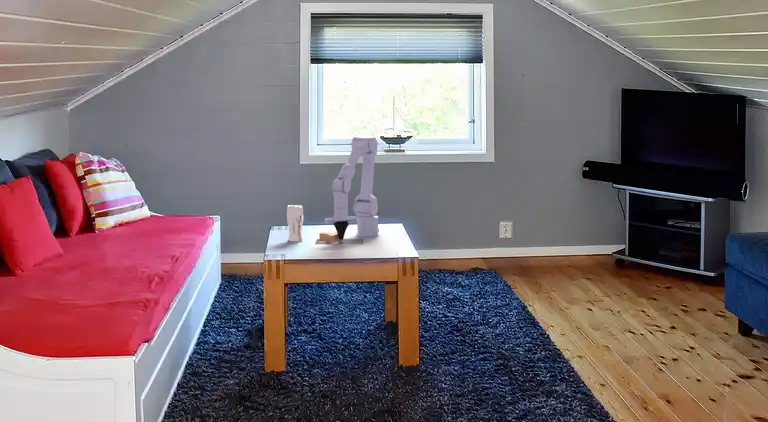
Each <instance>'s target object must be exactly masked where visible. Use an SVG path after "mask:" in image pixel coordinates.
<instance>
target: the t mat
mask: <svg viewBox="0 0 768 422" xmlns="http://www.w3.org/2000/svg"><path fill="white" fill-rule="evenodd" d="M314 244H315V245H364V238H344V239H343V240H339V241H337V242H334V243H329V242H326V241H324V240H319V238H316V240H315V243H314Z"/></svg>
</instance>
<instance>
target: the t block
mask: <svg viewBox="0 0 768 422" xmlns="http://www.w3.org/2000/svg"><path fill="white" fill-rule="evenodd" d="M318 239H319V240H324V241H326V242H329V243H334V242H337V241H339V240H340V239H339V238H338V233H337V231H336V232H335V231H334V232H327V231H325V232H324V231H321V232H320V233H319V236H318Z"/></svg>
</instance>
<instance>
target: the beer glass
mask: <svg viewBox="0 0 768 422" xmlns="http://www.w3.org/2000/svg"><path fill="white" fill-rule="evenodd" d="M286 207H287V208H286V220H287V227H288V239H287V241H288V242H289V243H290V242H291V243H300V242H303V235H302V230H303V223H304V207H303V205H302V204H290V205H287V206H286Z"/></svg>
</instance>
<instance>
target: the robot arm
mask: <svg viewBox="0 0 768 422" xmlns="http://www.w3.org/2000/svg"><path fill="white" fill-rule="evenodd" d="M350 146H351V151H350V153H349V157H348V159H347V162H346V163H345V164H343V165H342V166H341V168H340V172H339V173H338V175H337V178H335V179H333V180H332V181H331V185H330V189H331V190H332V196H333V209H334V211H333V217H327V218H324V224H327V225H328V224H333V226H334V228H335V229H336V232H337V233H338V238H339V239H340V240H343V239H345V235H346V231H347V228H348V227H349V224H350V223H349V222H357V223H356V224H357V225H356V226H357V229H356V230H357V231H356V237H378V236H379V231H380V228H379V216H378V215H377V213H378V210H379V205H378V198H377V197H376V196H374V195H373V189H374V187H373V186H374V176H375V175H374V173H375V163H376V161H375V160H376V156H377V155H378V140H377V138H376V137H375V136H373V135H372V136H366V135H365V136H360V135H354V136H353V138H352V140H351V145H350ZM360 158H362V167H361V169H362V170H361V179H360V180H361V183H360V193H359V194H358V195H357V196H356V197H354V199H355V200H354V203H353V206H352V207H353V209H352V210H353V212H354V214H355V215H354V216H350V215H349V192H350V190H351V188H352V179H353V177H354V175H355V173H356V168H355V167H356V165H357V163H358V161H359V160H360Z"/></svg>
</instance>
